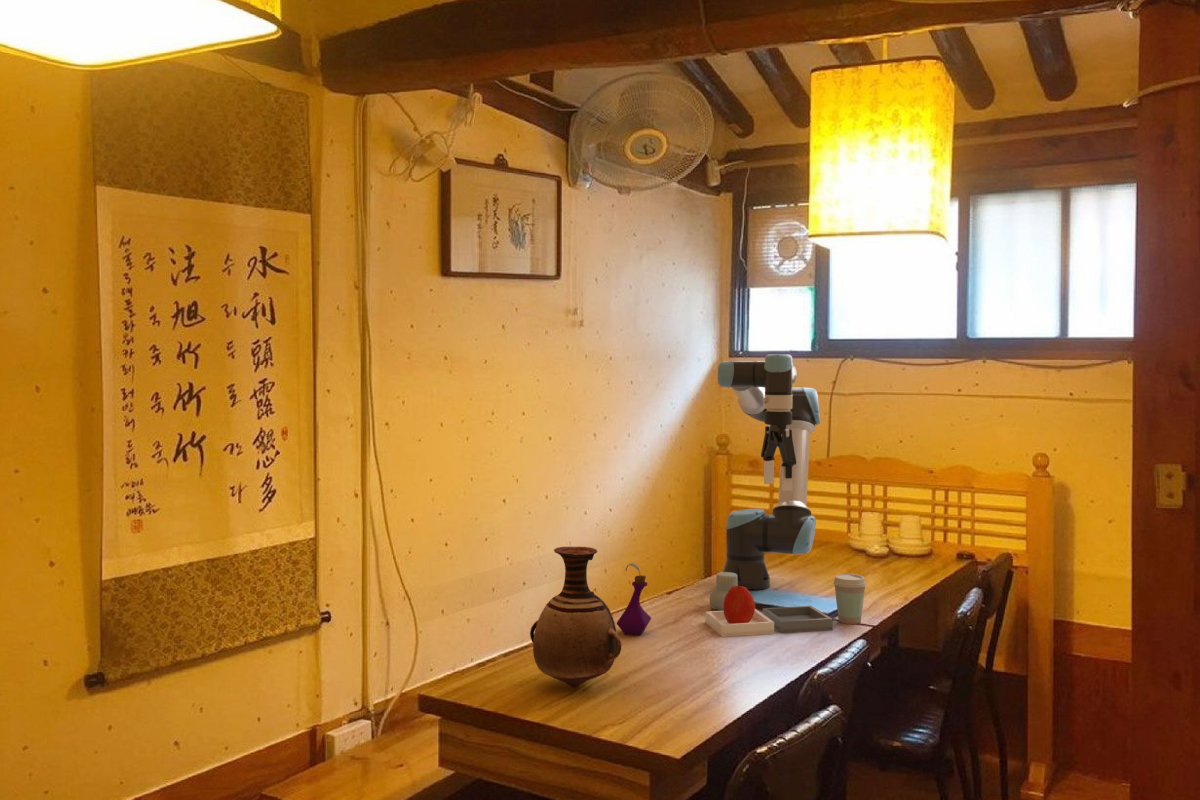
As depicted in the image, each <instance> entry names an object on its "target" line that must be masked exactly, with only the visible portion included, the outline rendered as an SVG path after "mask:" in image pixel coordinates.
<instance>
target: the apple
mask: <svg viewBox="0 0 1200 800" xmlns="http://www.w3.org/2000/svg"><path fill="white" fill-rule="evenodd" d="M723 607H724V615H725V618H726V620H727V622H728V623H729V624H736V623H749V622H750V621H751V619H752V617H753V614H754V612H755V609H756V602H755V599H754V597H753V595H752V593H751V592H750V590H748V589H747V588H746V587H743V586H739V584H738V586H732V587H731V588H730V590H729V591H728V593H727V594H726V596H725V600H724V605H723Z"/></svg>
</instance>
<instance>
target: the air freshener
mask: <svg viewBox="0 0 1200 800" xmlns="http://www.w3.org/2000/svg"><path fill="white" fill-rule="evenodd" d="M715 580H716V587H715V588H713V589H712V590H711V592H710V594H709V595H710V596H709V605H710V607H711V608H713V609H715V611H724V607H723V605H724V600H725V596H726V594H727V593H728V591H729V590H730V588H731V587H732V586H738V576H737V574H736V573H732V572H723V571H721V572H717V574H716V579H715Z"/></svg>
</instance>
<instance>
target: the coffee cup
mask: <svg viewBox="0 0 1200 800" xmlns="http://www.w3.org/2000/svg"><path fill="white" fill-rule="evenodd" d="M833 585H834V590H835V592H834V593H835V599H836V600H835V601H836V609H837V611H836V612H837V619H838V622H839V623H842V624H846V625H847V624H848V625H857V624H860V623H861V622H862V615H863V607H864V598H865V590H866V587H867V582H866V579H865V577H864V576H863V575H861V574H855V573H840V574H837V575H835V578H834V580H833Z"/></svg>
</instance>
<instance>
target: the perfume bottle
mask: <svg viewBox="0 0 1200 800" xmlns="http://www.w3.org/2000/svg"><path fill="white" fill-rule="evenodd" d="M630 566H631V567H633V568H635V569H636V570H637V571H638V572H639V573H638V574H639V575H635V576H634V581H632V583H631V586H633V588H634V589H633V592H632V596H631V599H630V600H629V603H628V605H627V606H626V608H625V609H624V611H623V613H622V614H621V616H620V617H619V619H618V620H617V622H616V625H617V626H618V627H619V630H621V632H622V633H623V634H624V636H625V635H626V636H639V637H640V636H642V634H643V633H644V631H646V628H647V627H648V625H649V623H650V622H651V620H652V617H651V616H650V614H648V612H646V611H645V609H644V608H643V607H642V605H641V602H640V601H641V599H640V598H641V594H642V591H643V590H644V589H645V587H647V586H648V582H647V581H646V578H647V576H646V575H644V574H643V575H641V572H640V566H638V564H637V563H634V562H631V563H629V564H627V566H626V567H625V572H627V570H628V567H630Z"/></svg>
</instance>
